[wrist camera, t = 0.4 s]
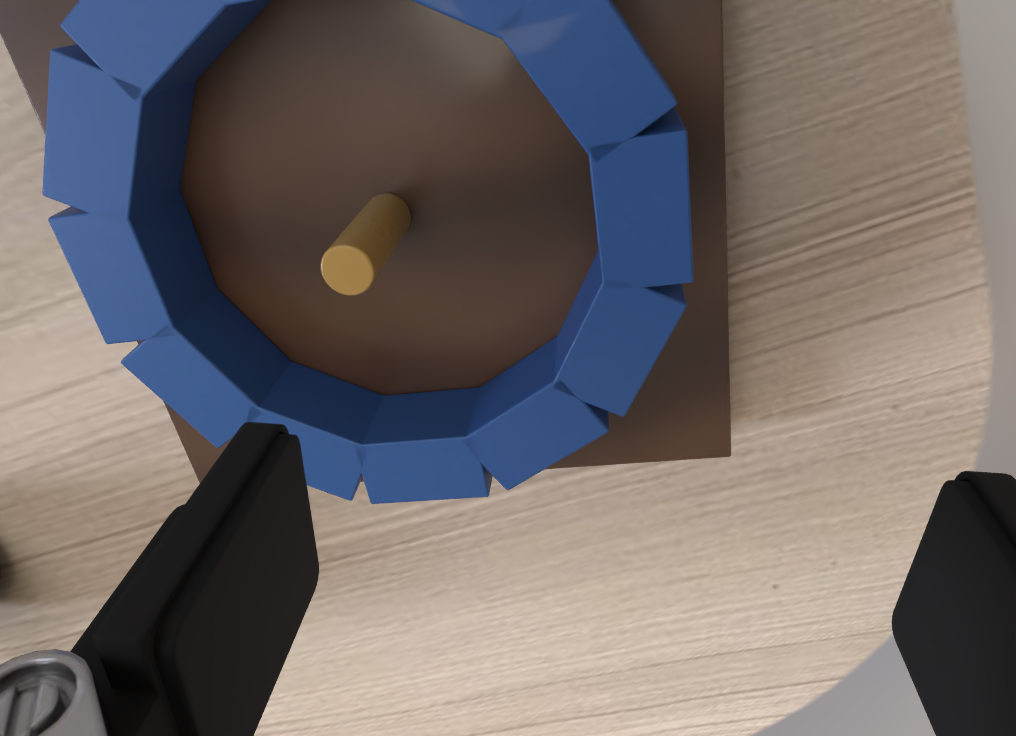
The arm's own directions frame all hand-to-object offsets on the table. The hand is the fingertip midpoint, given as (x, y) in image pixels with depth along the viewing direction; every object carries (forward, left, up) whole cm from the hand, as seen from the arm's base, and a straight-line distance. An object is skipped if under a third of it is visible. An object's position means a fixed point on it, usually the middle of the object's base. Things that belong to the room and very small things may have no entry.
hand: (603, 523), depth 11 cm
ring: (-1, -6, -12) cm, 13 cm away
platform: (-1, -6, -15) cm, 16 cm away
